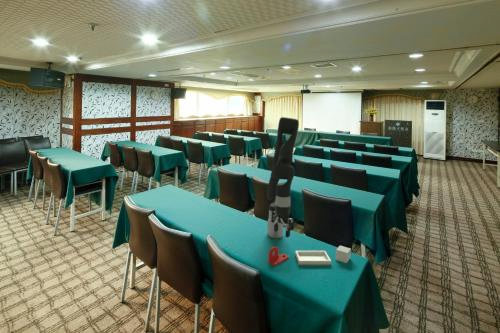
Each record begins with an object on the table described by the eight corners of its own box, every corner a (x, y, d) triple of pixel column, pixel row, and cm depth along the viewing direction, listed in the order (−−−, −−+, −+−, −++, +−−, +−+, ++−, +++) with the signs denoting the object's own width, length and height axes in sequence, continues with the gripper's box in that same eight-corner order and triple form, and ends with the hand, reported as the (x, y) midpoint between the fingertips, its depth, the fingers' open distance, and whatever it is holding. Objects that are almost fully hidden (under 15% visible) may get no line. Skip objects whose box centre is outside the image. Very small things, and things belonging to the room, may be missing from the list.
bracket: (274, 266, 143) (275, 252, 141) (268, 262, 146) (268, 248, 144) (289, 258, 151) (290, 244, 149) (282, 255, 154) (283, 241, 152)
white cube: (335, 259, 150) (336, 249, 149) (339, 255, 155) (339, 245, 154) (346, 263, 147) (347, 252, 145) (350, 258, 151) (351, 248, 150)
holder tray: (295, 254, 154) (295, 250, 154) (324, 254, 155) (325, 250, 154) (299, 265, 144) (299, 260, 143) (330, 265, 144) (331, 260, 144)
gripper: (268, 201, 145) (267, 231, 148) (287, 209, 134) (286, 241, 137) (278, 199, 149) (277, 227, 152) (298, 206, 138) (296, 237, 141)
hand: (281, 234), depth 144 cm, fingers open, 8 cm apart
